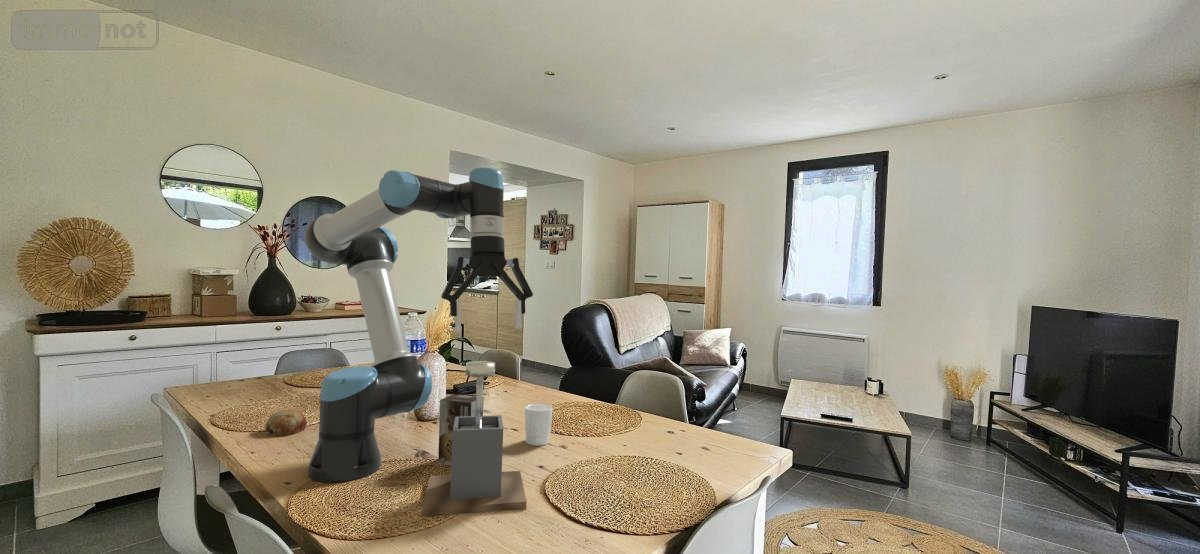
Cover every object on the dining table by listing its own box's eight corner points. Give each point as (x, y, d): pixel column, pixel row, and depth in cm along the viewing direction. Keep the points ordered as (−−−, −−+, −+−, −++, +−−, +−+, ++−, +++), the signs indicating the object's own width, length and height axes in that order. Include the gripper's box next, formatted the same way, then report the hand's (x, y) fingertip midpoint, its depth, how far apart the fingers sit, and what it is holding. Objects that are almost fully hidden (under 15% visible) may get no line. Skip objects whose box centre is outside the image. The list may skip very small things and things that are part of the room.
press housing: (450, 500, 95) (452, 430, 96) (452, 480, 105) (455, 416, 105) (500, 496, 98) (503, 428, 98) (498, 477, 108) (501, 415, 108)
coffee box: (482, 459, 122) (485, 396, 122) (469, 468, 116) (471, 402, 116) (451, 455, 124) (453, 393, 125) (436, 463, 118) (439, 398, 118)
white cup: (549, 447, 133) (550, 411, 133) (521, 446, 133) (522, 410, 133) (552, 438, 141) (554, 404, 141) (526, 437, 141) (527, 403, 141)
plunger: (458, 440, 97) (461, 366, 97) (460, 429, 104) (463, 360, 105) (496, 439, 99) (499, 366, 99) (495, 428, 106) (498, 360, 107)
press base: (421, 517, 91) (421, 509, 91) (429, 482, 107) (430, 476, 107) (526, 509, 96) (526, 501, 96) (519, 477, 112) (520, 470, 112)
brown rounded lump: (262, 444, 137) (251, 422, 134) (292, 420, 146) (282, 399, 143) (288, 449, 134) (278, 426, 131) (317, 424, 143) (308, 403, 140)
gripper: (431, 232, 100) (433, 333, 99) (544, 236, 111) (547, 327, 110) (427, 237, 107) (428, 332, 105) (534, 240, 117) (536, 326, 116)
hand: (489, 330), depth 107 cm, fingers open, 13 cm apart
